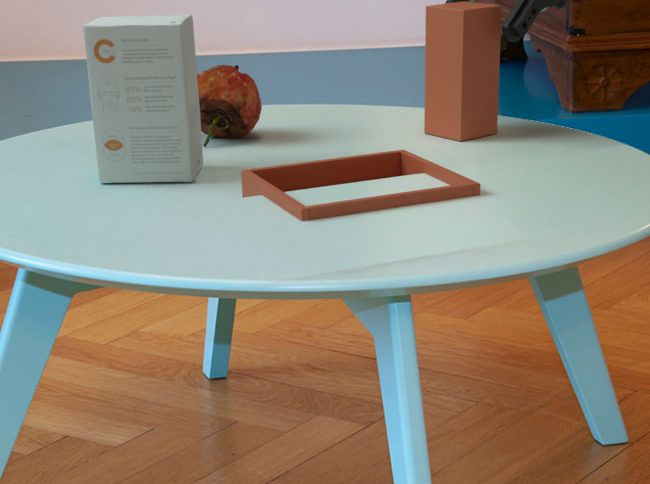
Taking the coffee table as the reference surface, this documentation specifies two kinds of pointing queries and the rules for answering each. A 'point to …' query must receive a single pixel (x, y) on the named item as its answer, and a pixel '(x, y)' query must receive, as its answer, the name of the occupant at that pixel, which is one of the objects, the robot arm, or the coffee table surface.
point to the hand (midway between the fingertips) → (475, 32)
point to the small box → (144, 98)
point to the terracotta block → (462, 69)
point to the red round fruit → (227, 102)
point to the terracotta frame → (349, 171)
